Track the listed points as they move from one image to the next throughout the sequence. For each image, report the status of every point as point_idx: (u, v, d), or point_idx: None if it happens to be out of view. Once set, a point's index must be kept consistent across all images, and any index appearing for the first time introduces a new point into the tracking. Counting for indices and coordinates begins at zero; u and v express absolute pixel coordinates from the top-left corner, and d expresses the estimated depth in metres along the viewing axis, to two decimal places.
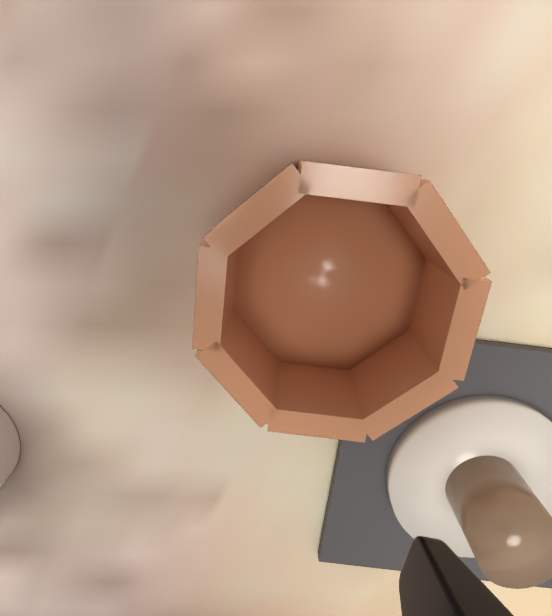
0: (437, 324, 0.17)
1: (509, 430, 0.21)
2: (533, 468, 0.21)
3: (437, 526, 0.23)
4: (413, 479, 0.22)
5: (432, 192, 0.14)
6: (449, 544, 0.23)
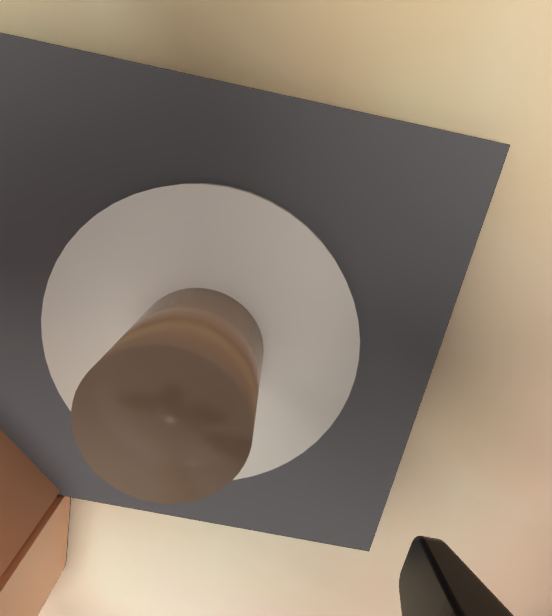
0: None
1: (86, 313, 0.12)
2: (160, 267, 0.12)
3: (282, 415, 0.13)
4: None
5: None
6: (324, 396, 0.13)
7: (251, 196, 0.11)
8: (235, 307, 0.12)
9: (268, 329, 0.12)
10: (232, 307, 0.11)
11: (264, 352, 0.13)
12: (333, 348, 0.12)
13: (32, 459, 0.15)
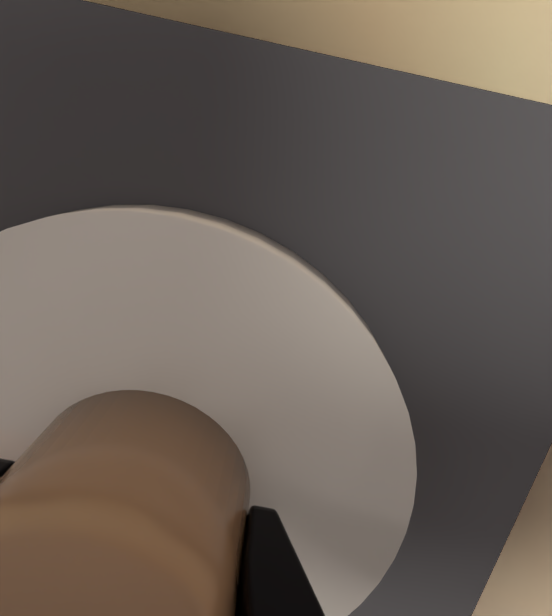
0: None
1: None
2: (65, 357, 0.07)
3: None
4: None
5: None
6: (353, 558, 0.08)
7: (222, 232, 0.06)
8: (196, 432, 0.06)
9: (258, 456, 0.07)
10: (191, 434, 0.06)
11: (251, 492, 0.07)
12: (370, 486, 0.07)
13: None
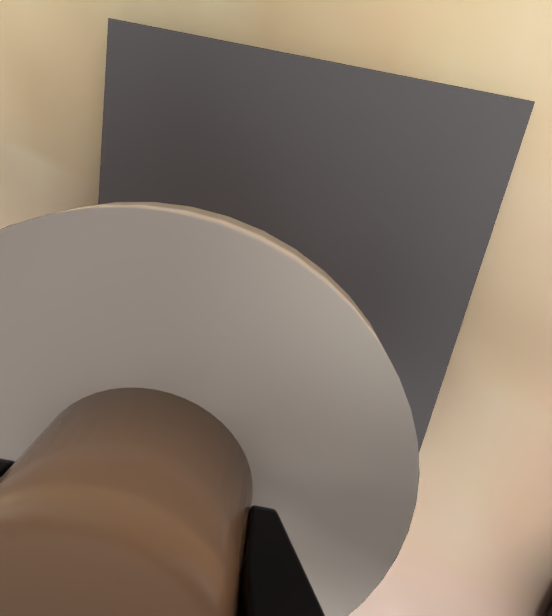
0: None
1: None
2: (67, 354, 0.07)
3: None
4: None
5: None
6: (355, 556, 0.08)
7: (225, 229, 0.06)
8: (199, 429, 0.06)
9: (260, 454, 0.07)
10: (193, 431, 0.06)
11: (254, 490, 0.07)
12: (373, 484, 0.07)
13: None
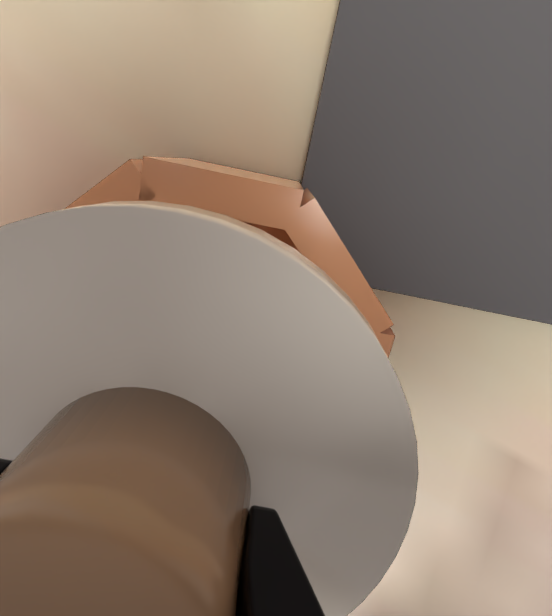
0: None
1: None
2: (65, 353, 0.07)
3: None
4: None
5: None
6: (354, 556, 0.08)
7: (223, 228, 0.06)
8: (197, 429, 0.06)
9: (258, 454, 0.07)
10: (191, 431, 0.06)
11: (252, 490, 0.07)
12: (371, 484, 0.07)
13: (345, 244, 0.15)
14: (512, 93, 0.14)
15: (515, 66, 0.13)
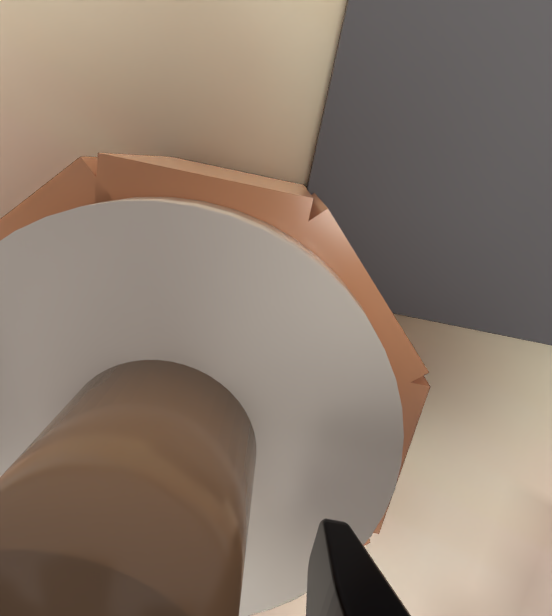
0: None
1: None
2: (94, 330, 0.08)
3: (286, 538, 0.09)
4: None
5: None
6: (348, 512, 0.09)
7: (233, 219, 0.07)
8: (210, 394, 0.07)
9: (263, 420, 0.08)
10: (205, 396, 0.07)
11: (257, 452, 0.08)
12: (362, 446, 0.08)
13: None
14: None
15: None
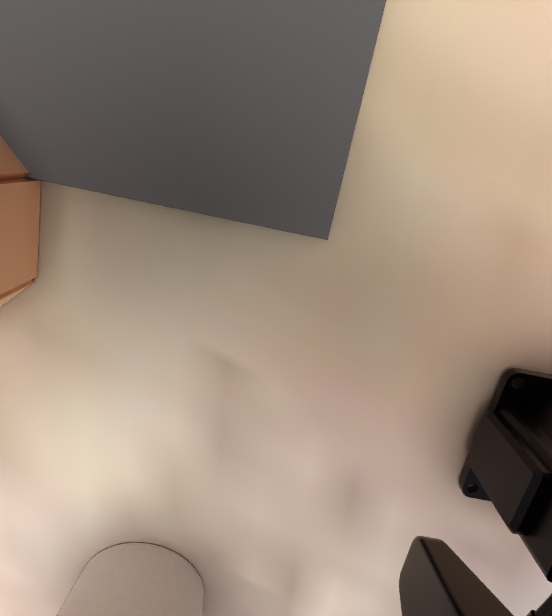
0: None
1: None
2: None
3: None
4: None
5: None
6: None
7: None
8: None
9: None
10: None
11: None
12: None
13: (1, 134, 0.16)
14: None
15: None
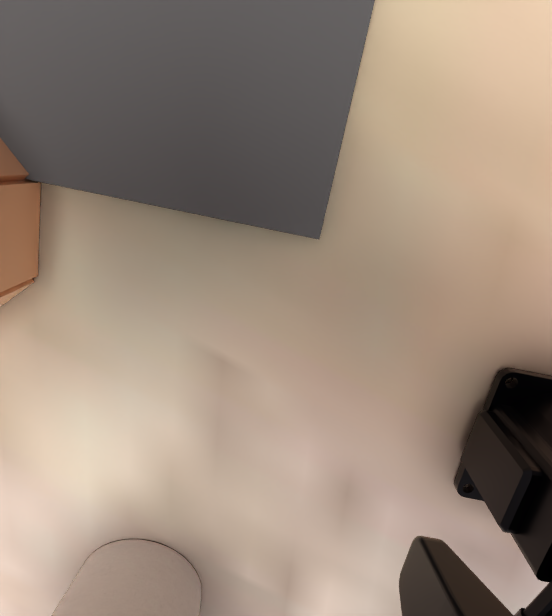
0: None
1: None
2: None
3: None
4: None
5: None
6: None
7: None
8: None
9: None
10: None
11: None
12: None
13: (2, 137, 0.16)
14: None
15: None
